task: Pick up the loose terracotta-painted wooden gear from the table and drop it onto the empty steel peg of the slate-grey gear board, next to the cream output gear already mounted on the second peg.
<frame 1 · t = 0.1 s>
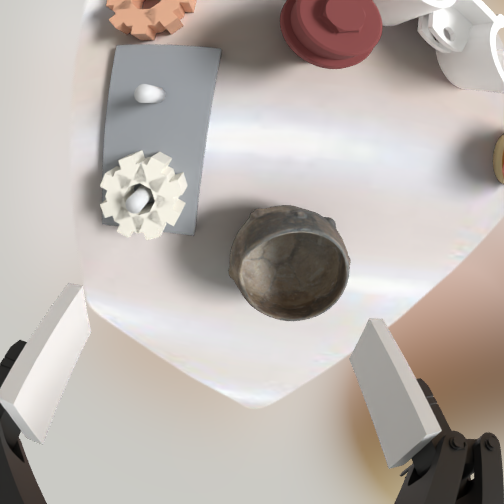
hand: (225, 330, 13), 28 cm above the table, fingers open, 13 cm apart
gear board: (155, 137, 35), on the table
white joined open cylinders: (424, 31, 28), on the table
output gear: (143, 194, 34), point 4 cm above the table, hinge at 0.0°
mechanical component: (311, 39, 30), on the table
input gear: (155, 5, 26), on the table
bowl: (284, 242, 43), on the table
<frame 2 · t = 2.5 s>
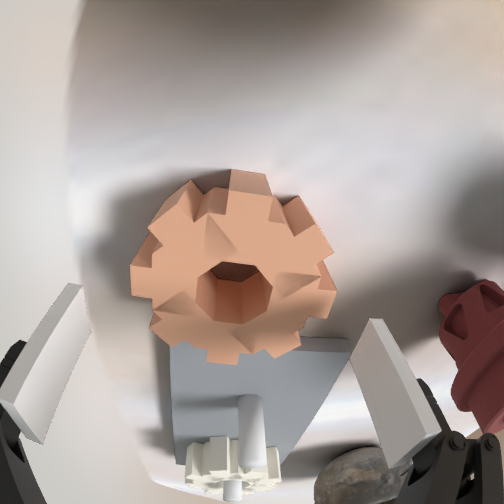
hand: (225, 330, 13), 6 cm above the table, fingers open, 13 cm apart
gear board: (240, 417, 27), on the table
output gear: (232, 469, 27), point 4 cm above the table, hinge at 0.0°
mechanical component: (461, 303, 22), on the table
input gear: (234, 255, 18), on the table
bowl: (358, 452, 35), on the table
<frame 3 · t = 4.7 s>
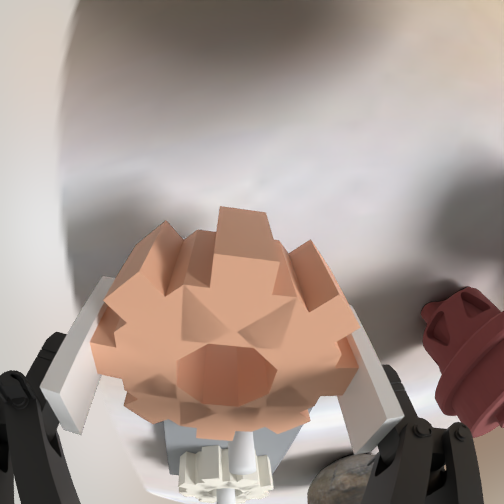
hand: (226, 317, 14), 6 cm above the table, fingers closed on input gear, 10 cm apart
gear board: (230, 427, 27), on the table
output gear: (225, 478, 26), point 4 cm above the table, hinge at 0.0°
mechanical component: (444, 310, 23), on the table
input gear: (226, 313, 14), point 5 cm above the table, touching gripper
bowl: (350, 460, 35), on the table
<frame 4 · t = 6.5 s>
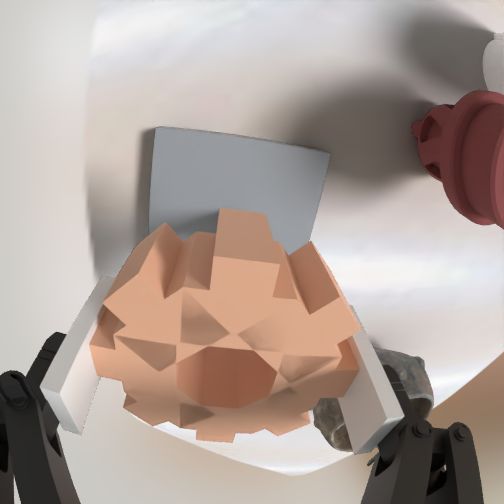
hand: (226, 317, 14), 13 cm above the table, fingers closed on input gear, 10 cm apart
gear board: (222, 271, 27), on the table
mechanical component: (436, 139, 22), on the table
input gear: (226, 315, 14), point 12 cm above the table, touching gripper
bowl: (361, 365, 35), on the table
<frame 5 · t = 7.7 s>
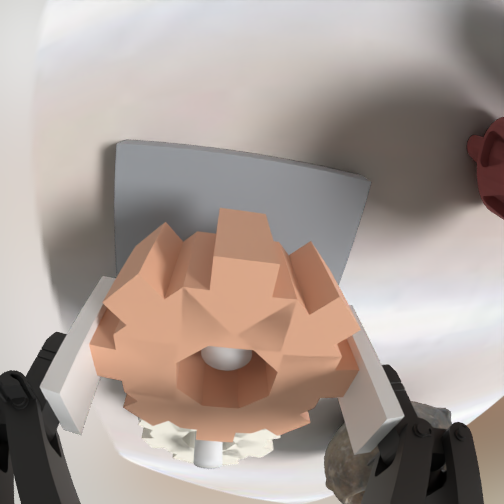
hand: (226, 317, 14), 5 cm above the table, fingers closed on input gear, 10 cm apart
gear board: (218, 329, 21), on the table
output gear: (209, 419, 20), point 4 cm above the table, hinge at 0.0°
mechanical component: (491, 159, 16), on the table
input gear: (226, 314, 14), point 5 cm above the table, touching gripper
bowl: (378, 413, 28), on the table
when the fingers open (3 cm above the table, at t = 8.7 s): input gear drops 1 cm, resting on gear board.
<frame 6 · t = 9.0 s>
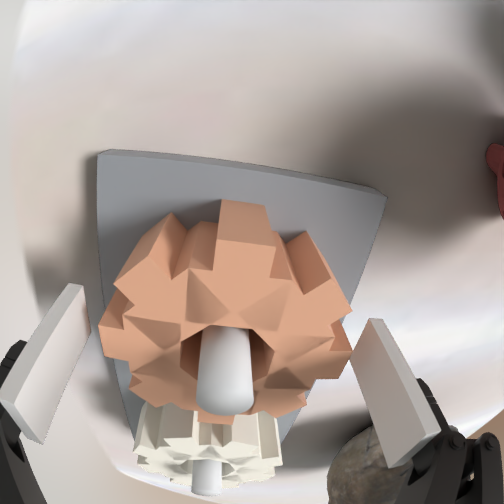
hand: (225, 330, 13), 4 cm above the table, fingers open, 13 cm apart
gear board: (216, 354, 19), on the table
output gear: (207, 445, 18), point 4 cm above the table, hinge at 0.0°
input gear: (226, 300, 15), point 1 cm above the table, touching gear board
bowl: (383, 429, 27), on the table
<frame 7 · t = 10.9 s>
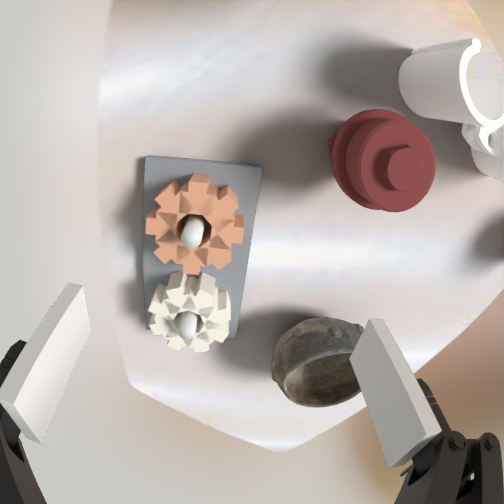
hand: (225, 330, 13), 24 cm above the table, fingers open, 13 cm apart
gear board: (195, 255, 38), on the table
white joined open cylinders: (462, 119, 32), on the table
output gear: (190, 313, 38), point 4 cm above the table, hinge at 0.0°
mechanical component: (352, 149, 33), on the table
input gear: (197, 217, 34), point 1 cm above the table, touching gear board
bowl: (315, 335, 45), on the table
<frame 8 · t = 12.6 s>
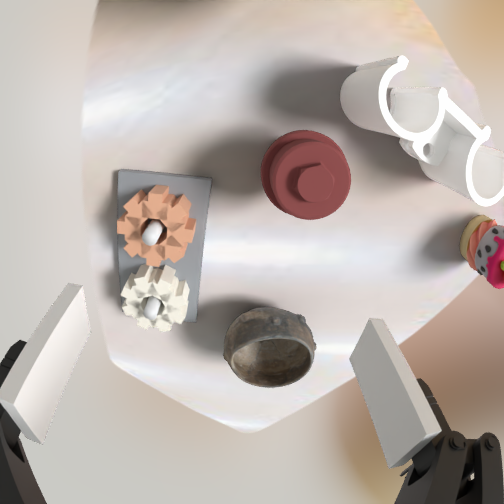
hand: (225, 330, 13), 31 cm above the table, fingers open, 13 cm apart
gear board: (160, 250, 45), on the table
white joined open cylinders: (409, 128, 38), on the table
output gear: (155, 298, 45), point 4 cm above the table, hinge at 0.0°
mechanical component: (292, 161, 40), on the table
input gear: (160, 220, 41), point 1 cm above the table, touching gear board
bowl: (268, 323, 53), on the table
cake: (476, 237, 47), on the table
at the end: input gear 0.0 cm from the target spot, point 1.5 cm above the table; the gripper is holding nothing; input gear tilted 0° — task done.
